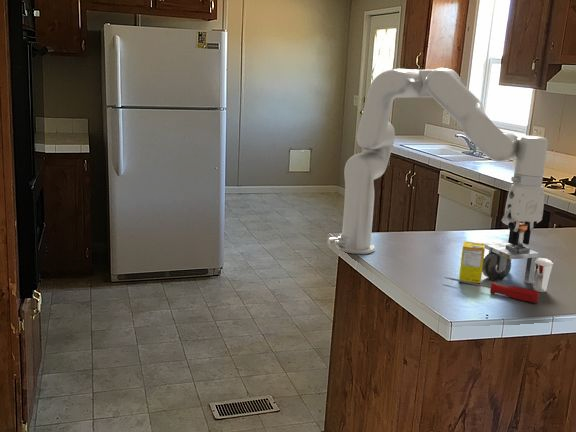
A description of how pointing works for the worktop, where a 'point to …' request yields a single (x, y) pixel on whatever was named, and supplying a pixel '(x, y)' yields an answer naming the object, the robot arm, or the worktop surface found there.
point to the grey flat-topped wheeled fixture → (507, 260)
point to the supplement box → (472, 262)
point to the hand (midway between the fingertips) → (518, 243)
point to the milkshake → (542, 274)
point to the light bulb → (521, 234)
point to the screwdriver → (509, 291)
